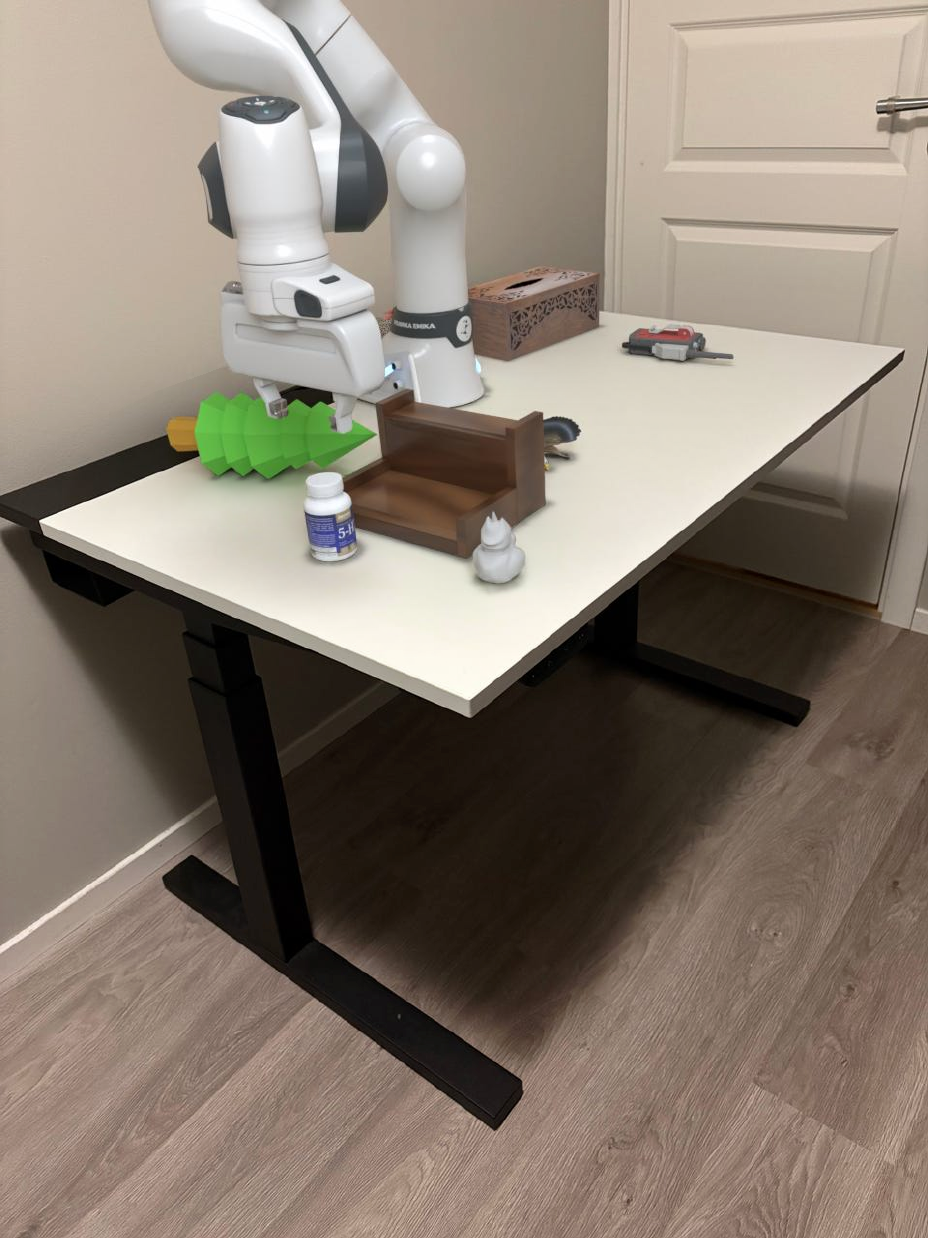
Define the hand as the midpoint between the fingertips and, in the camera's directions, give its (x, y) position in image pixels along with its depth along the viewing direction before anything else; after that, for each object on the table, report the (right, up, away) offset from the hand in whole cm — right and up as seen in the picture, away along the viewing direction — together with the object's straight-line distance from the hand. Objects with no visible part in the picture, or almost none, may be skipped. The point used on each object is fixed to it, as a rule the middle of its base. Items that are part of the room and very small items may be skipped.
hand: (309, 423), depth 99 cm
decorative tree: (-9, -1, +29) cm, 30 cm away
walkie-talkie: (+53, +24, +63) cm, 86 cm away
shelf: (+13, -8, +15) cm, 21 cm away
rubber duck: (+20, -16, 0) cm, 26 cm away
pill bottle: (+2, -13, +8) cm, 15 cm away
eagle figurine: (+26, 0, +25) cm, 36 cm away
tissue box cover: (+28, +32, +79) cm, 89 cm away
